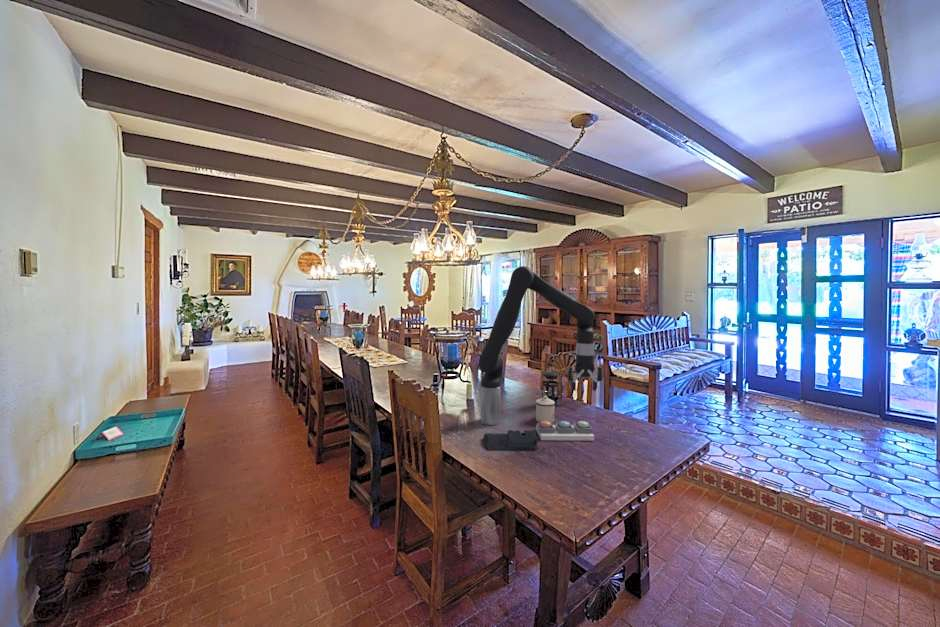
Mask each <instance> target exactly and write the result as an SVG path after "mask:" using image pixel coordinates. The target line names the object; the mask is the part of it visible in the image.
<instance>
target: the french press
mask: <svg viewBox="0 0 940 627" xmlns="http://www.w3.org/2000/svg"><path fill="white" fill-rule="evenodd" d="M546 365H549V371H544V372H543V371H542V373H541V375H542V376H543V377H545V378H546V379H547V380H542V381H541V398H543V396H547V397H548V398H549V399H550V400H553V401H554V402H555V405H554V408H556V407H559V405H560V404H559V400H562V398H563V397H562V396H563V395H562V394H563V383H562V382H561V381H560V382H559V381H557V380H558V379H559V376H560V373H558V372H555V371H554V372H553V371H552V370H551V369H552V365H555V362H552V361H548V362H546ZM544 387H545V390H544ZM555 389H556V390H555ZM559 389H560V390H559ZM559 392H560V393H559Z"/></svg>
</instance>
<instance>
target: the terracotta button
mask: <svg viewBox="0 0 940 627" xmlns="http://www.w3.org/2000/svg"><path fill="white" fill-rule="evenodd" d="M540 423H541V425H540V427H541V428H551V422H549V421H541V422H540Z"/></svg>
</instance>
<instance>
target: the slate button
mask: <svg viewBox="0 0 940 627" xmlns="http://www.w3.org/2000/svg"><path fill="white" fill-rule="evenodd" d="M558 423H559V428H570V424H571V423H570V422H569V421H567V420H561V421H559V422H558Z"/></svg>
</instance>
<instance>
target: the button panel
mask: <svg viewBox="0 0 940 627" xmlns="http://www.w3.org/2000/svg"><path fill="white" fill-rule="evenodd" d="M540 425H541V422H537V423H536V426H535V429H536V430H535V431H536V432H537V434H538V436H539V440H540V441H578V442H579V441H585V442H586V441H592V442H594V441H595V435H594V434H593V431H594V429H593V427H592V426H591V425H590V423H588V428H578V422H573V424H571V423H570V428H559V422H554V424H553V422H552V423H551V428H541V427H540Z"/></svg>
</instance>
